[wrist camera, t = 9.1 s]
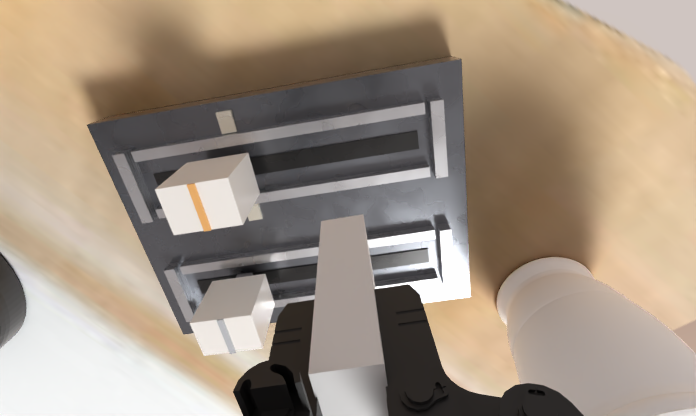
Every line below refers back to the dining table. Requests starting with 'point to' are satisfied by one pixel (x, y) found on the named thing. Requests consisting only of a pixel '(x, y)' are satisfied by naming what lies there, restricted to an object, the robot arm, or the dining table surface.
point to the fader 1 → (209, 194)
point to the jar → (594, 343)
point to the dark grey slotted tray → (308, 181)
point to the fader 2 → (234, 315)
